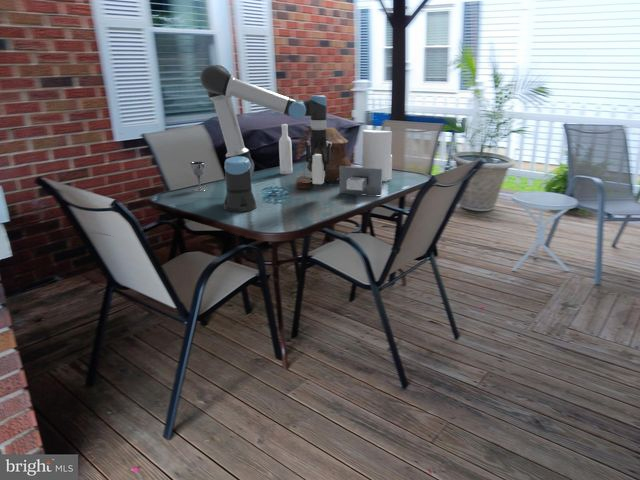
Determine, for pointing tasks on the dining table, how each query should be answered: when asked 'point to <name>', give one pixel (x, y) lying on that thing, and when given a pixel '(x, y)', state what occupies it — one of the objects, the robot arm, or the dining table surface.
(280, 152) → the bottle
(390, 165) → the cylinder
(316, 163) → the rail post
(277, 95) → the robot arm
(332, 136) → the pottery vessel
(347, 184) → the grey block
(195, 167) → the wine glass
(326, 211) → the dining table surface
